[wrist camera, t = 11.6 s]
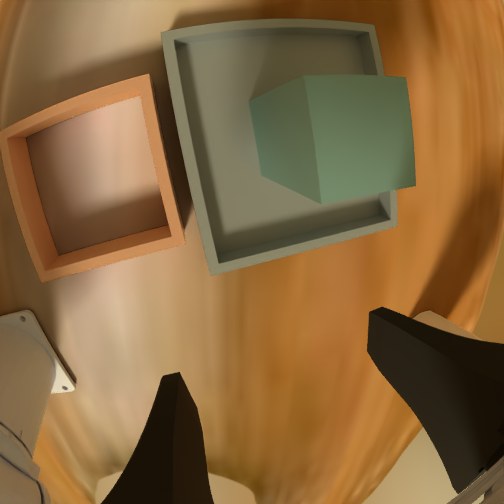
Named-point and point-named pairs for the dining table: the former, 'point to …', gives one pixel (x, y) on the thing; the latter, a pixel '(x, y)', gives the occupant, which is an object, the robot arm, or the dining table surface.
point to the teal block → (336, 136)
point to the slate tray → (243, 139)
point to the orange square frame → (29, 200)
